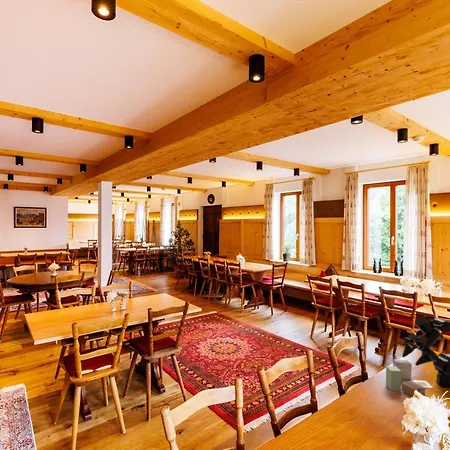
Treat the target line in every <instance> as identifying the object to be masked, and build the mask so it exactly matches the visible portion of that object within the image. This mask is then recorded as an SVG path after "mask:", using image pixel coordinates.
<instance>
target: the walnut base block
mask: <svg viewBox="0 0 450 450" xmlns="http://www.w3.org/2000/svg"><path fill="white" fill-rule="evenodd" d="M415 390H417V391H418V392H420V393H421V394H422V395H423V396H425V395H426V393H425V392H426V388H425V387H423V386H421V385H420V384H418V383H416V382H414V381H412V380H408V381H404V382H401V391H402V392H404V393H406V394H407V395H409V396H411V397H413V395H414V391H415Z"/></svg>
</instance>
